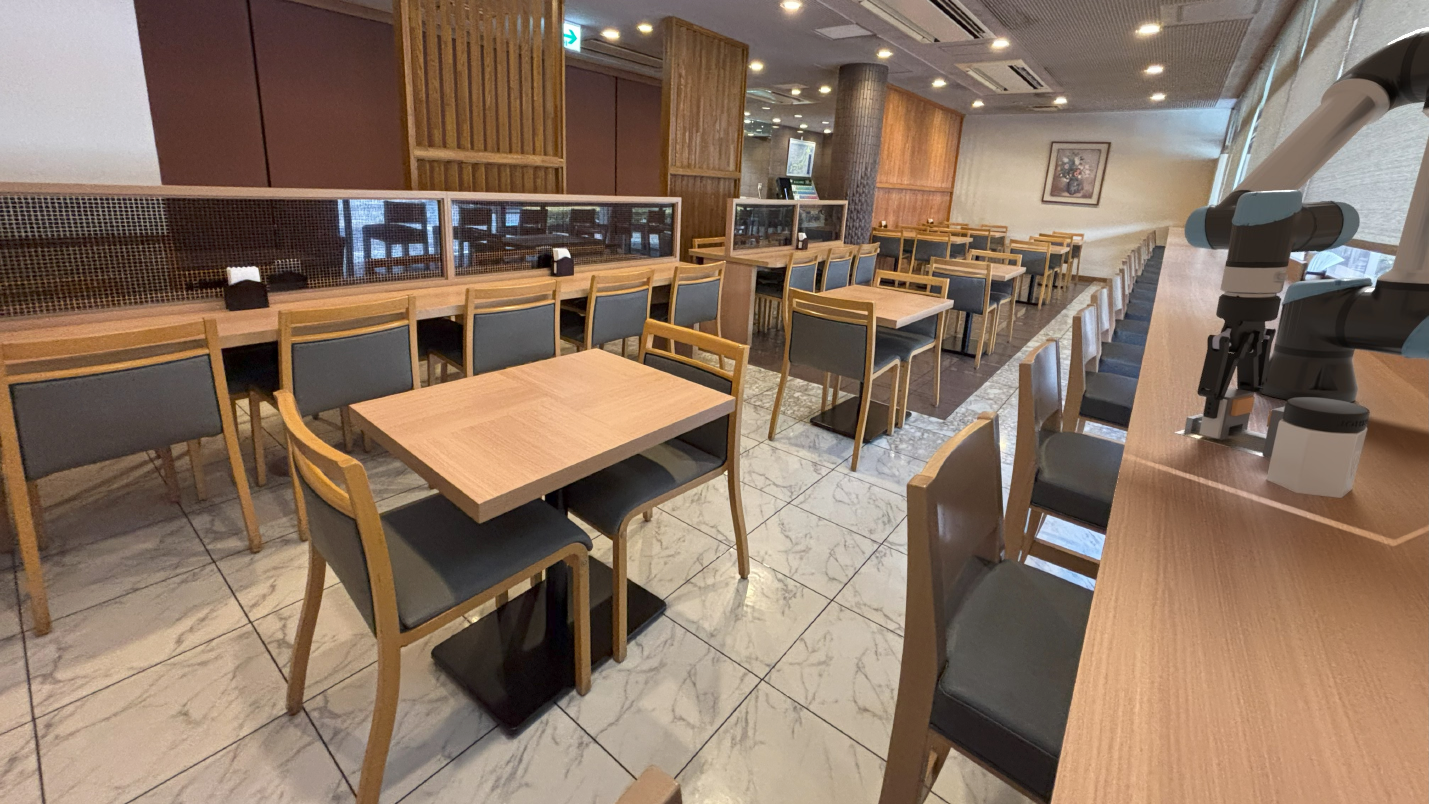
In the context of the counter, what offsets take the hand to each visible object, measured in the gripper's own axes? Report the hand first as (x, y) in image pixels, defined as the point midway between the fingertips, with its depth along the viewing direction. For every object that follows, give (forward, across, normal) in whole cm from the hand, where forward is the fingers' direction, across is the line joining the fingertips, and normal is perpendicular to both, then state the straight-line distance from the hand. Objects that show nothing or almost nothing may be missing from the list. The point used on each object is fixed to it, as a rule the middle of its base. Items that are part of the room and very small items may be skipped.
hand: (1223, 432), depth 104 cm
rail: (+1, 0, -5) cm, 5 cm away
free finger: (0, 0, 0) cm, 0 cm away
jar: (+2, -10, -16) cm, 20 cm away
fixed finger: (+1, 0, -9) cm, 9 cm away
